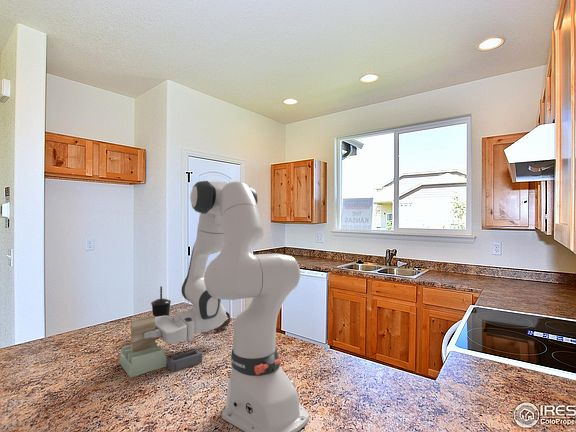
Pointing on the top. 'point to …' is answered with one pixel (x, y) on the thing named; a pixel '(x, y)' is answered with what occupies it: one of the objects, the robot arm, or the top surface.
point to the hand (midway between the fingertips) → (141, 334)
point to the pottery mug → (224, 322)
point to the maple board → (137, 333)
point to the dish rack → (142, 360)
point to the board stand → (184, 360)
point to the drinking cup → (161, 306)
